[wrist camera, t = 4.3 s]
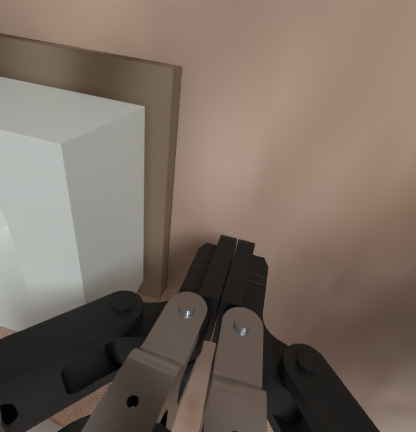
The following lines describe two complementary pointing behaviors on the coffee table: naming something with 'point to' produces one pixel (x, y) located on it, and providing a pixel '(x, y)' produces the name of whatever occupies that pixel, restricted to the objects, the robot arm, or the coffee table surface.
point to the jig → (125, 92)
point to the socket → (67, 200)
